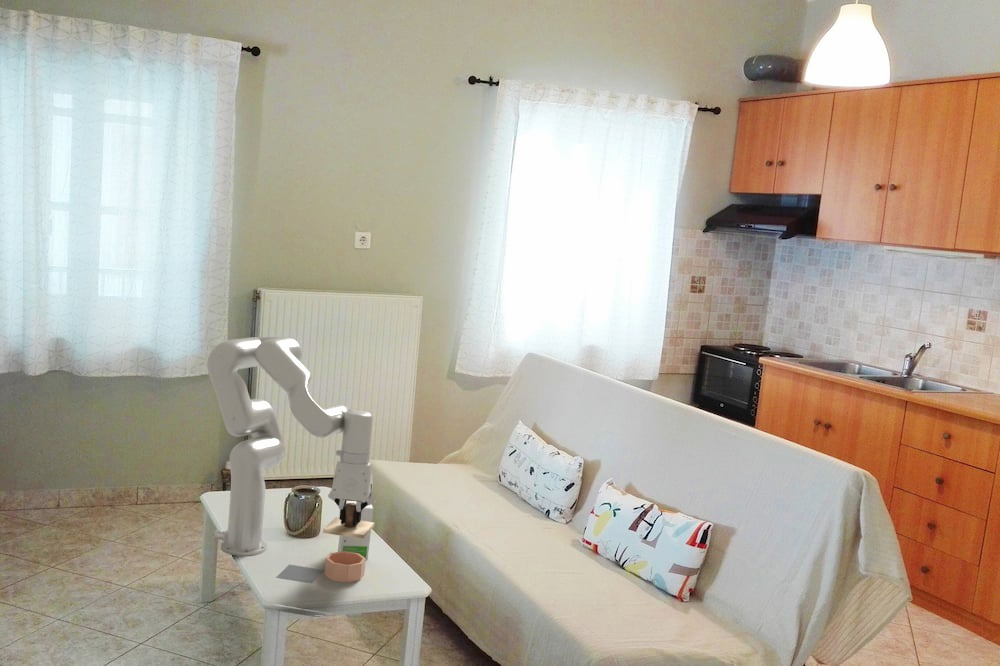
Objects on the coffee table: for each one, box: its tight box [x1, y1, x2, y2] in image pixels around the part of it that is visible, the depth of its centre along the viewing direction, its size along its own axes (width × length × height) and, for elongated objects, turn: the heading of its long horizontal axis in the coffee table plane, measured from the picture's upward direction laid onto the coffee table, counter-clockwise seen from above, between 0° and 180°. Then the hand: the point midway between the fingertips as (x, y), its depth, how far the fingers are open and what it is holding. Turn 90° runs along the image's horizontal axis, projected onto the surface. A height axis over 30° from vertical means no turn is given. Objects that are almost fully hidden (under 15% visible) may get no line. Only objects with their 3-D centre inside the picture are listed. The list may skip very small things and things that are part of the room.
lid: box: [322, 503, 375, 539], centre depth 258 cm, size 11×11×7 cm
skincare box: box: [337, 500, 374, 561], centre depth 274 cm, size 8×7×16 cm
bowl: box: [324, 551, 366, 583], centre depth 259 cm, size 10×10×5 cm
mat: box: [275, 564, 325, 584], centre depth 257 cm, size 10×10×1 cm
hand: (349, 523), depth 258 cm, fingers closed on lid, 2 cm apart
